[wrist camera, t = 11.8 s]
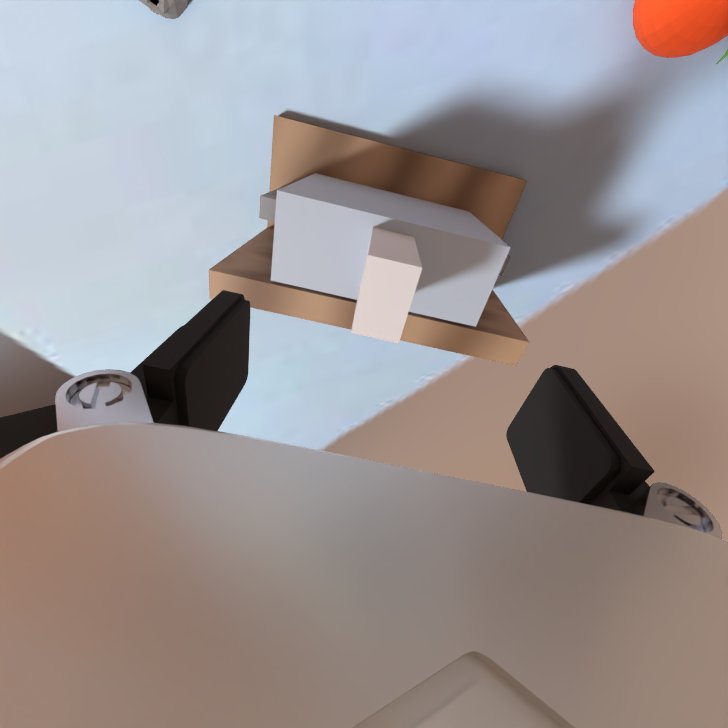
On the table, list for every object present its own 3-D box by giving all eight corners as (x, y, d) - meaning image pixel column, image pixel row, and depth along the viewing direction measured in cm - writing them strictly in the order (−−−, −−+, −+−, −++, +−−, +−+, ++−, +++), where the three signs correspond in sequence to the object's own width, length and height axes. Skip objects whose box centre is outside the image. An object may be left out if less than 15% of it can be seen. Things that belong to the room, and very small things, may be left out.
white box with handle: (469, 211, 31) (550, 281, 16) (448, 269, 34) (499, 377, 18) (315, 173, 30) (238, 207, 15) (307, 236, 33) (236, 320, 18)
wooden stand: (522, 179, 31) (606, 203, 19) (475, 293, 37) (516, 365, 25) (277, 115, 29) (203, 98, 18) (269, 245, 35) (209, 298, 23)
